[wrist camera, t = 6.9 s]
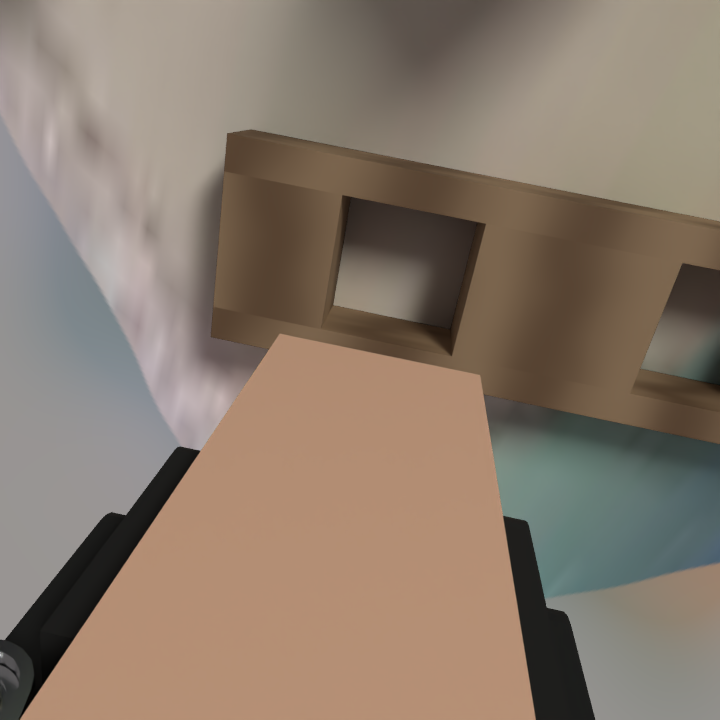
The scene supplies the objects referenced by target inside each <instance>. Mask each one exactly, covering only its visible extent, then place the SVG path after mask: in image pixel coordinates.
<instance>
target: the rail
mask: <svg viewBox="0 0 720 720" xmlns="http://www.w3.org/2000/svg"><path fill="white" fill-rule="evenodd" d="M351 197H355V198H360V199H365V200H370V201H375V202H380V203H385V204H390V205H395V206H400V207H405V208H410V209H415V210H420V211H425V212H430V213H435V214H440V215H445V216H450V217H455V218H460V219H465V220H470V221H475V222H478V223H477V227H476V231H475V235H474V239H473V243H472V246H471V250H470V254H469V258H468V262H467V266H466V270H465V274H464V278H463V282H462V286H461V290H460V294H459V298H458V302H457V306H456V310H455V314H454V318H453V321H452V325H451V329H445V328H440V327H435V326H431V325H426V324H421V323H416V322H411V321H406V320H402V319H397V318H392V317H387V316H382V315H377V314H373V313H368V312H363V311H358V310H353V309H348V308H344V307H339V306H334V305H333V303H334V296H335V290H336V284H337V278H338V272H339V266H340V260H341V254H342V248H343V242H344V236H345V230H346V224H347V218H348V212H349V206H350V200H351ZM682 263H685V264H690V265H695V266H700V267H705V268H710V269H715V270H720V222H719V221H714V220H709V219H704V218H699V217H694V216H688V215H683V214H678V213H673V212H668V211H663V210H658V209H653V208H648V207H643V206H638V205H632V204H627V203H622V202H617V201H612V200H607V199H602V198H597V197H592V196H587V195H582V194H577V193H571V192H566V191H561V190H556V189H551V188H546V187H541V186H536V185H531V184H526V183H521V182H516V181H510V180H505V179H500V178H495V177H490V176H485V175H480V174H475V173H470V172H465V171H460V170H454V169H449V168H444V167H439V166H434V165H429V164H424V163H419V162H414V161H409V160H404V159H399V158H393V157H388V156H383V155H378V154H373V153H368V152H363V151H358V150H353V149H348V148H343V147H338V146H332V145H327V144H322V143H317V142H312V141H307V140H302V139H297V138H292V137H287V136H282V135H277V134H271V133H266V132H261V131H256V130H246V131H240V132H233V133H227V144H226V156H225V168H224V180H223V193H222V205H221V217H220V230H219V242H218V254H217V267H216V279H215V291H214V304H213V316H212V328H211V337H213V338H218V339H223V340H228V341H232V342H237V343H242V344H247V345H251V346H256V347H261V348H266V349H270V347H271V346H272V344H273V343H274V341H275V340H276V339H277V337H278V336H279V334H284V335H289V336H293V337H298V338H303V339H308V340H313V341H318V342H323V343H327V344H332V345H337V346H342V347H347V348H352V349H356V350H361V351H366V352H371V353H376V354H381V355H385V356H390V357H395V358H400V359H405V360H410V361H414V362H419V363H424V364H429V365H434V366H439V367H444V368H448V369H453V370H458V371H463V372H468V373H473V374H477V375H480V377H481V383H482V390H483V394H484V395H489V396H494V397H498V398H503V399H508V400H513V401H517V402H522V403H527V404H532V405H536V406H541V407H546V408H551V409H555V410H560V411H565V412H570V413H574V414H579V415H584V416H589V417H593V418H598V419H603V420H608V421H612V422H617V423H622V424H627V425H631V426H636V427H641V428H646V429H650V430H655V431H660V432H665V433H669V434H674V435H679V436H684V437H688V438H693V439H698V440H703V441H707V442H712V443H717V444H720V385H716V384H711V383H706V382H701V381H697V380H692V379H687V378H682V377H677V376H672V375H668V374H663V373H658V372H653V371H648V370H643V369H640V368H641V365H642V363H643V360H644V358H645V355H646V353H647V350H648V348H649V345H650V343H651V340H652V338H653V335H654V333H655V330H656V328H657V325H658V323H659V320H660V318H661V315H662V313H663V310H664V308H665V305H666V303H667V300H668V298H669V295H670V293H671V290H672V288H673V285H674V283H675V280H676V278H677V275H678V273H679V270H680V268H681V265H682Z"/></svg>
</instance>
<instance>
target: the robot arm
mask: <svg viewBox="0 0 720 720" xmlns="http://www.w3.org/2000/svg"><path fill="white" fill-rule="evenodd" d="M199 453H200V451H198V450H194V449H189V448H184V447H177V448H176V449H175V450H174V452H173V453H172V454H171V456H170V457H169V458H168V460H167V461H166V462H165V464H164V465H163V466H162V468H161V469H160V470H159V472H158V473H157V475H156V476H155V477H154V479H153V480H152V481H151V483H150V484H149V485H148V487H147V488H146V489H145V491H144V492H143V493H142V495H141V496H140V497H139V499H138V500H137V502H136V503H135V504H134V505H133V507H132V508H131V509H130V511H129V512H128V513H127V515H122V514H116V513H112V512H111V513H109V514H107V515H105V516H104V517H103V518H102V519H101V520H100V522H99V523H98V524H97V525H96V527H95V528H94V529H93V530H92V532H91V533H90V534H89V535H88V537H87V538H86V539H85V540H84V542H83V543H82V544H81V545H80V547H79V548H78V549H77V550H76V552H75V553H74V554H73V555H72V557H71V558H70V559H69V560H68V562H67V563H66V564H65V565H64V567H63V568H62V569H61V570H60V572H59V573H58V574H57V576H56V577H55V578H54V579H53V580H52V582H51V583H50V584H49V585H48V587H47V588H46V589H45V590H44V592H43V593H42V594H41V595H40V597H39V598H38V599H37V601H36V602H35V603H34V604H33V605H32V607H31V608H30V609H29V610H28V612H27V613H26V614H25V615H24V617H23V618H22V619H21V620H20V622H19V623H18V624H17V626H16V627H15V628H14V629H13V630H12V632H11V633H10V634H9V636H8V637H7V638H6V639H5V640H0V720H20V719H21V717H22V716H23V714H24V713H25V711H26V710H27V708H28V707H29V705H30V704H31V702H32V701H33V699H34V698H35V696H36V695H37V693H38V692H39V690H40V689H41V687H42V686H43V684H44V683H45V682H46V680H47V679H48V677H49V676H50V674H51V673H52V671H53V670H54V668H55V667H56V665H57V664H58V662H59V661H60V659H61V658H62V656H63V655H64V653H65V652H66V650H67V649H68V647H69V646H70V644H71V643H72V641H73V640H74V638H75V637H76V635H77V634H78V633H79V631H80V630H81V628H82V627H83V625H84V624H85V622H86V621H87V619H88V618H89V616H90V615H91V613H92V612H93V610H94V609H95V607H96V606H97V604H98V603H99V601H100V600H101V598H102V597H103V595H104V594H105V592H106V591H107V589H108V588H109V586H110V585H111V584H112V582H113V581H114V579H115V578H116V576H117V575H118V573H119V572H120V570H121V569H122V567H123V566H124V564H125V563H126V561H127V560H128V558H129V557H130V555H131V554H132V552H133V551H134V549H135V548H136V546H137V545H138V543H139V542H140V540H141V539H142V537H143V536H144V535H145V533H146V532H147V530H148V529H149V527H150V526H151V524H152V523H153V521H154V520H155V518H156V517H157V515H158V514H159V512H160V511H161V509H162V508H163V506H164V505H165V503H166V502H167V500H168V499H169V497H170V496H171V494H172V493H173V491H174V490H175V488H176V487H177V486H178V484H179V483H180V481H181V480H182V478H183V477H184V475H185V474H186V472H187V471H188V469H189V468H190V466H191V465H192V463H193V462H194V460H195V459H196V457H197V456H198V454H199ZM503 520H504V526H505V532H506V538H507V544H508V551H509V557H510V563H511V569H512V575H513V582H514V588H515V594H516V600H517V606H518V613H519V619H520V625H521V631H522V637H523V644H524V650H525V656H526V662H527V668H528V675H529V681H530V687H531V693H532V699H533V706H534V712H535V718H536V720H595V717H594V713H593V709H592V705H591V701H590V698H589V694H588V690H587V686H586V682H585V678H584V674H583V671H582V666H581V663H580V659H579V655H578V651H577V647H576V643H575V639H574V636H573V631H572V627H571V624H570V621H569V618H568V616H567V615H566V614H565V613H564V612H563V611H558V610H554V609H549V608H547V607H546V603H545V598H544V593H543V589H542V584H541V580H540V575H539V570H538V566H537V561H536V557H535V552H534V547H533V543H532V538H531V534H530V529H529V525H528V522H526V521H524V520H520V519H515V518H511V517H506V516H503Z"/></svg>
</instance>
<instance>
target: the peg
mask: <svg viewBox="0 0 720 720" xmlns="http://www.w3.org/2000/svg"><path fill="white" fill-rule="evenodd" d="M20 720H536V718H535V712H534V706H533V699H532V693H531V687H530V681H529V675H528V668H527V662H526V656H525V650H524V644H523V637H522V631H521V625H520V619H519V613H518V606H517V600H516V594H515V588H514V582H513V575H512V569H511V563H510V557H509V551H508V544H507V538H506V532H505V526H504V520H503V513H502V507H501V501H500V495H499V489H498V483H497V476H496V470H495V464H494V458H493V452H492V445H491V439H490V433H489V427H488V421H487V414H486V408H485V402H484V396H483V390H482V383H481V377H480V375H477V374H473V373H468V372H463V371H458V370H453V369H448V368H444V367H439V366H434V365H429V364H424V363H419V362H414V361H410V360H405V359H400V358H395V357H390V356H385V355H381V354H376V353H371V352H366V351H361V350H356V349H352V348H347V347H342V346H337V345H332V344H327V343H323V342H318V341H313V340H308V339H303V338H298V337H293V336H289V335H284V334H279V336H278V337H277V339H276V340H275V341H274V343H273V344H272V346H271V347H270V349H269V350H268V352H267V353H266V355H265V356H264V358H263V359H262V361H261V362H260V364H259V365H258V367H257V368H256V370H255V371H254V373H253V374H252V376H251V377H250V379H249V380H248V382H247V383H246V385H245V386H244V388H243V389H242V390H241V392H240V393H239V395H238V396H237V398H236V399H235V401H234V402H233V404H232V405H231V407H230V408H229V410H228V411H227V413H226V414H225V416H224V417H223V419H222V420H221V422H220V423H219V425H218V426H217V428H216V429H215V431H214V432H213V434H212V435H211V437H210V438H209V439H208V441H207V442H206V444H205V445H204V447H203V448H202V450H201V451H200V453H199V454H198V456H197V457H196V459H195V460H194V462H193V463H192V465H191V466H190V468H189V469H188V471H187V472H186V474H185V475H184V477H183V478H182V480H181V481H180V483H179V484H178V486H177V487H176V488H175V490H174V491H173V493H172V494H171V496H170V497H169V499H168V500H167V502H166V503H165V505H164V506H163V508H162V509H161V511H160V512H159V514H158V515H157V517H156V518H155V520H154V521H153V523H152V524H151V526H150V527H149V529H148V530H147V532H146V533H145V535H144V536H143V537H142V539H141V540H140V542H139V543H138V545H137V546H136V548H135V549H134V551H133V552H132V554H131V555H130V557H129V558H128V560H127V561H126V563H125V564H124V566H123V567H122V569H121V570H120V572H119V573H118V575H117V576H116V578H115V579H114V581H113V582H112V584H111V585H110V586H109V588H108V589H107V591H106V592H105V594H104V595H103V597H102V598H101V600H100V601H99V603H98V604H97V606H96V607H95V609H94V610H93V612H92V613H91V615H90V616H89V618H88V619H87V621H86V622H85V624H84V625H83V627H82V628H81V630H80V631H79V633H78V634H77V635H76V637H75V638H74V640H73V641H72V643H71V644H70V646H69V647H68V649H67V650H66V652H65V653H64V655H63V656H62V658H61V659H60V661H59V662H58V664H57V665H56V667H55V668H54V670H53V671H52V673H51V674H50V676H49V677H48V679H47V680H46V682H45V683H44V684H43V686H42V687H41V689H40V690H39V692H38V693H37V695H36V696H35V698H34V699H33V701H32V702H31V704H30V705H29V707H28V708H27V710H26V711H25V713H24V714H23V716H22V717H21V719H20Z"/></svg>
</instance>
